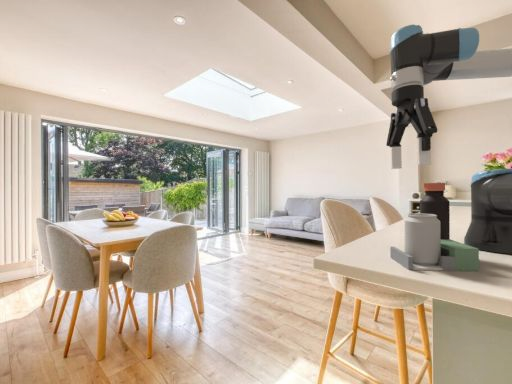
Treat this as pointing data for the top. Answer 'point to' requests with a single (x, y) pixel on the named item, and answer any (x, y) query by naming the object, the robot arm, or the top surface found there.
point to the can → (423, 238)
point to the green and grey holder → (443, 257)
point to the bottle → (437, 206)
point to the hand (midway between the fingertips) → (408, 167)
